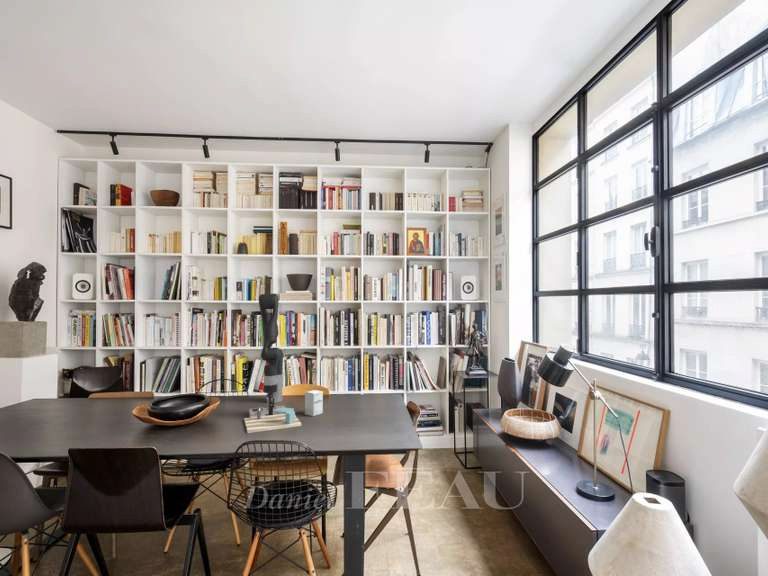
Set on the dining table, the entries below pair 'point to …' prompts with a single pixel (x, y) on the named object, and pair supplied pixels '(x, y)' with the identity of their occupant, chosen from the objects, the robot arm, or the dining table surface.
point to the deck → (269, 423)
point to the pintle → (258, 412)
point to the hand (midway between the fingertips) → (270, 414)
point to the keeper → (287, 414)
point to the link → (263, 411)
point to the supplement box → (313, 402)
